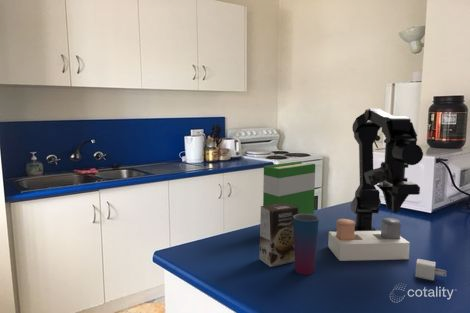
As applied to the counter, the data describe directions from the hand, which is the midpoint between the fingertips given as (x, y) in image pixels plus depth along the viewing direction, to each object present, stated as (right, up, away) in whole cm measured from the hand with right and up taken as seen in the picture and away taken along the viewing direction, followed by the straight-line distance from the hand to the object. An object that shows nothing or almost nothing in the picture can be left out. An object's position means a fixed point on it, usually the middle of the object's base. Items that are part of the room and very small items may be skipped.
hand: (391, 211), depth 112 cm
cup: (-28, -15, -11) cm, 34 cm away
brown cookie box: (-35, -14, -4) cm, 38 cm away
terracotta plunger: (-14, -8, 0) cm, 16 cm away
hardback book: (-28, -11, +20) cm, 36 cm away
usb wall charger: (+4, -16, -15) cm, 22 cm away
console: (-7, -13, +1) cm, 15 cm away
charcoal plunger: (0, -8, +1) cm, 9 cm away
